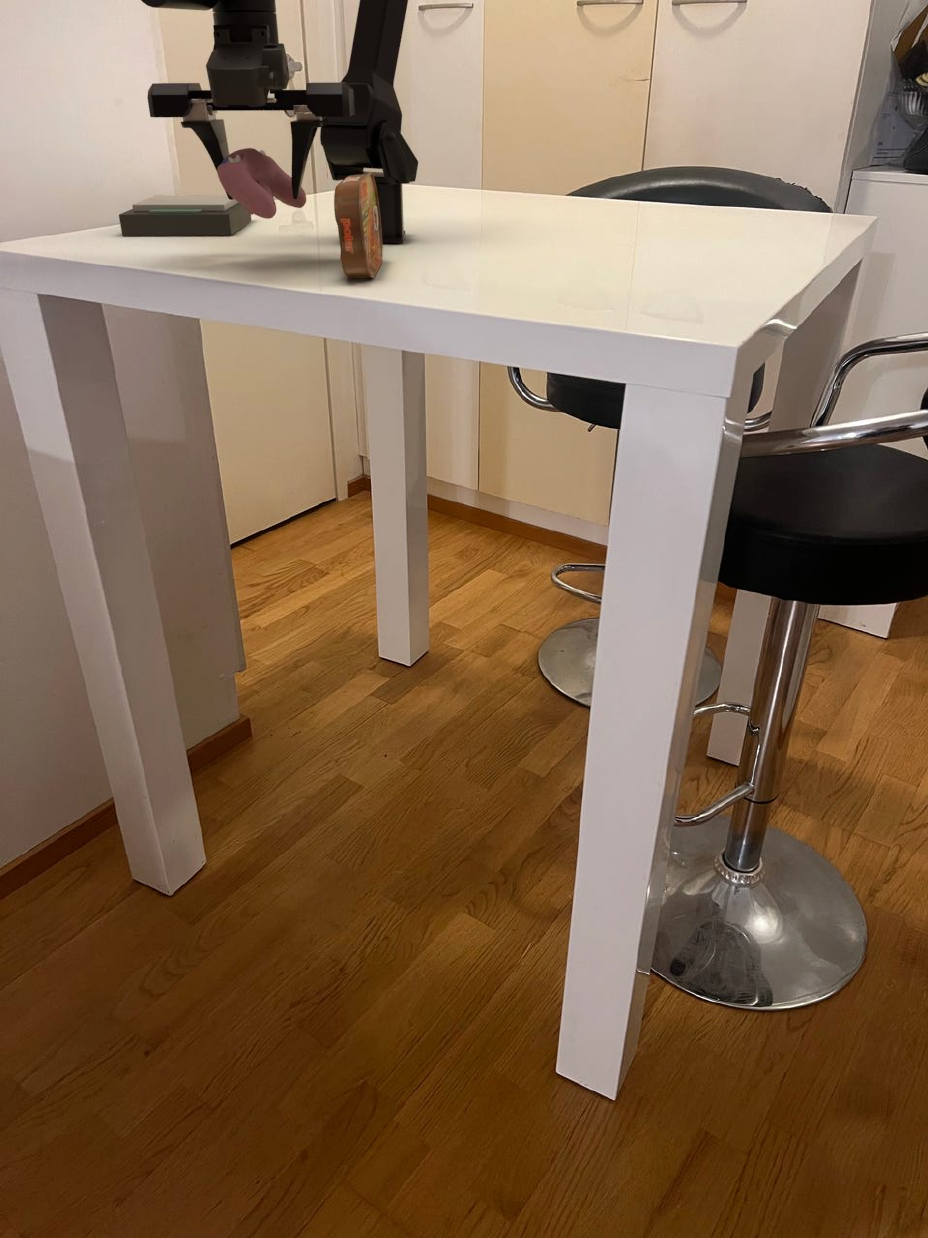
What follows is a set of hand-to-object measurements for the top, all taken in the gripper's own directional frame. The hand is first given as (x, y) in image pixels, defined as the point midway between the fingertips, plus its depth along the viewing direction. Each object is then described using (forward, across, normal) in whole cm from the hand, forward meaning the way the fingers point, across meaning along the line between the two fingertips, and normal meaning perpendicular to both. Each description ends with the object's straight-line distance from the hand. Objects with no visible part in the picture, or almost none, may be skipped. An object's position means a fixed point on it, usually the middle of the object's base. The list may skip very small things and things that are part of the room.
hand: (263, 199), depth 94 cm
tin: (+6, +10, -6) cm, 13 cm away
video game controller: (+2, 0, 0) cm, 2 cm away
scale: (+6, -14, +24) cm, 28 cm away
